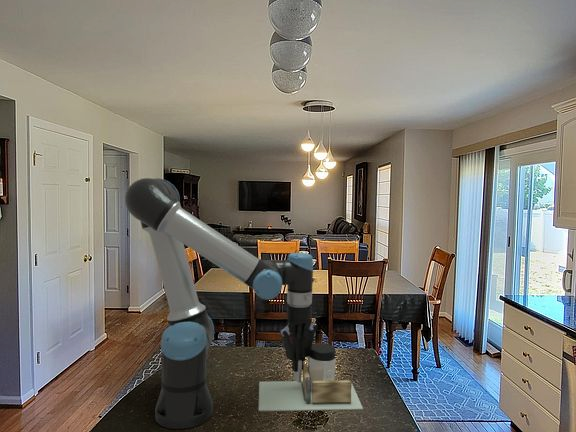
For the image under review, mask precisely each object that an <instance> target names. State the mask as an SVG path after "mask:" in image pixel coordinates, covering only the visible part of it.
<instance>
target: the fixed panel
mask: <svg viewBox="0 0 576 432" xmlns="http://www.w3.org/2000/svg"><path fill="white" fill-rule="evenodd" d="M351 382H352V381H351V380H346V379H345V380H334V381H312V402H313V403H324V402H351V387H352V385H353V383H352V384H351Z"/></svg>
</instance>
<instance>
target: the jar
mask: <svg viewBox="0 0 576 432" xmlns="http://www.w3.org/2000/svg"><path fill="white" fill-rule="evenodd" d="M336 354H337V353H336V347H334V346H332V345H331V344H327V343H312V347H310V348H309V357H307V367H308V372H309V376H310V378H311V390H312V381H335V375H336V363H337V361H336Z"/></svg>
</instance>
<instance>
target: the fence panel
mask: <svg viewBox="0 0 576 432" xmlns="http://www.w3.org/2000/svg"><path fill="white" fill-rule="evenodd" d="M307 377H310V376H309V372H308V363H304V368H303V370H302V378H301V381H302V382H303V388H304V393H305V399H306V378H307Z"/></svg>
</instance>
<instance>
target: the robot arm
mask: <svg viewBox="0 0 576 432" xmlns="http://www.w3.org/2000/svg"><path fill="white" fill-rule="evenodd" d="M124 197H125V198H124V200H125V201H124V202H125V207H126V209H127V211H128V212H129V213H130V215H132V217H133V218H135V219H136V220H138V221H139V222H140V224H141V229H142V230H143V231H145V232H147V234H149V237H150V240H151V244H152V247H153V251H154V256H155V259H156V262H157V266H158V270H159V274H160V277H161V281H162V284H163V287H164V288H163V289H164V292H165V295H166V300H167V304H168V308H169V313H168V315H167V317H166V320H167V324H168V327H166V329H165V330H164V331H163V333H162V335H161V340H160V350H161V389H160V392H159V396H158V399H157V401H156V404H155V408H154V409H155V410H154V414H155V415H154V417H155V422H156V423H157V424H158V425H160V426H161V427H164V428H167V429H170V430H171V429H172V430H184V429H190V428H191V429H192V428H194V427H197V426H200V425H202V424H204V423H205V422H207V421H208V420H209V419H210V418H211V417H212V415H213V410H214V403H213V398H212V396H211V392H210V390H209V388H208V387H209V386H208V384H207V355H208V353H209V351H210V350H209V349H210V347H211V345H212V343H213V340H214V337H215V326H214V323H213V320H212V318H211V317H210V316H209V315H208V314H209V313H208V311H207V308H206V305H205V304H202V303H201V302H200V301H199V297H198V293H197V290H196V286H195V282H194V279H193V275H192V271H191V268H190V264H189V260H188V259H189V258H188V255H187V251H186V248H185V246H186V247H188V248H189V249H191V250H193V251H194V252H196V253H197V254H199V255H200V256H202V257H203V258H204V259H206V260H208V261H209V262H211V263H212V264H214V265H215V266H217V267H219V268H220V269H222V270H223V271H225V272H226V273H228V274H229V275H231V276H232V277H234V278H236V279H237V280H239V281H240V282H241V283H243V284H244V285H246V286H247V287H249V288H251V289H252V290H253V292H254V293H255V294H256V295H257V297H259V298H260V299H262V300H272V299H275V298H277V296H278V295H279V294H280V293H281V290H282V286H287V295H286V302H287V306H286V318H287V321H286V323H285V327H283V329H282V328H280V329H279V331H278V332H279V334H280V335H281V337H282V341H283V347H284V353H285V357H286V358H287V359H288V360H289V361H291V370H292V371H293V381H297V382H298V383H300V382H301V381H302V377H303V368H304V364H305V362H306V361H307V358H308V357H309V348H310V347H312V344H314V343H313V342H314V338H315V334H316V332H317V330H318V325H316V324H314V323H313V322H312V315H313V314H312V313H313V306H312V303H313V279H314V278H313V277H314V264H313V263H314V259H313V256H312V255H311V254H309V253H305V252H292V253H291V252H290V253H289V254H288V257H287V259H281V260H280V259H261V258H258V257H256V256H254V255H253V254H252V253H250V252H249V251H247V250H246V249H244V248H243V247H241V246H240V245H238V244H237V243H235V242H234V241H232V240H231V239H229V238H228V237H226V236H224V235H223V234H222V233H220V232H218V231H217V230H216V229H214V228H213V227H211V226H210V225H208V224H207V223H205V222H204V221H202V220H200V219H199V218H198V217H196V216H194V215H193V214H191V213H190V212H189V211H187V210H185V208H184V209H183V207H182V206H181V200H180V199H181V197H180V194H179V191H178V189H177V188H176V187H175V185H174V184H173V183H171V182H170V181H169V180H166V179H164V178H163V179H162V178H157V177H156V178H150V177H145V178H140V179H137V180H135V181H134V182H132V183H131V184H130V186H129V187H128V188H127V190H126V192H125V196H124Z"/></svg>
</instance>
